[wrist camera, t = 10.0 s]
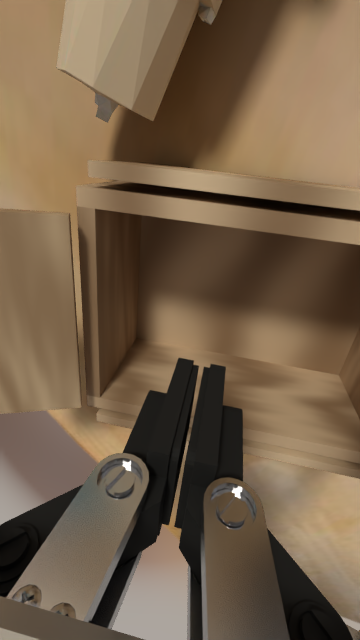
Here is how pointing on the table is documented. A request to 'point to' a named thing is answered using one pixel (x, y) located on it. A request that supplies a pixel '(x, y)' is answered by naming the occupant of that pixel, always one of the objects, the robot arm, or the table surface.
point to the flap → (37, 313)
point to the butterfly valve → (127, 48)
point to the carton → (226, 301)
